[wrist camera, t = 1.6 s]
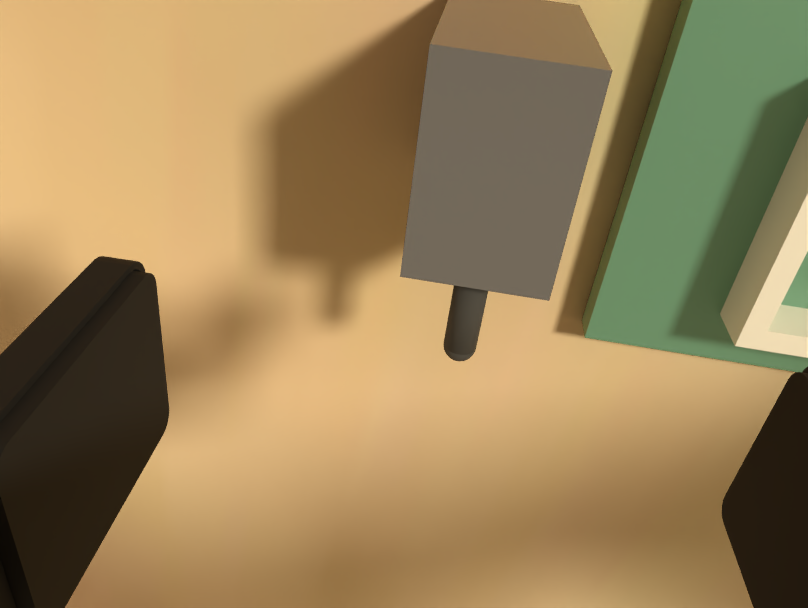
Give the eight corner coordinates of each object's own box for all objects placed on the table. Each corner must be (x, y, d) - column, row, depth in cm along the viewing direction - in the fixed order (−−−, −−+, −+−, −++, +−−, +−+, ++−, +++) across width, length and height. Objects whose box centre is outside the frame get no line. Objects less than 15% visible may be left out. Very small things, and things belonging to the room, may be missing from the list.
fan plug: (579, 5, 22) (612, 71, 15) (517, 265, 27) (521, 399, 20) (453, -13, 22) (429, 43, 15) (416, 249, 27) (387, 377, 20)
